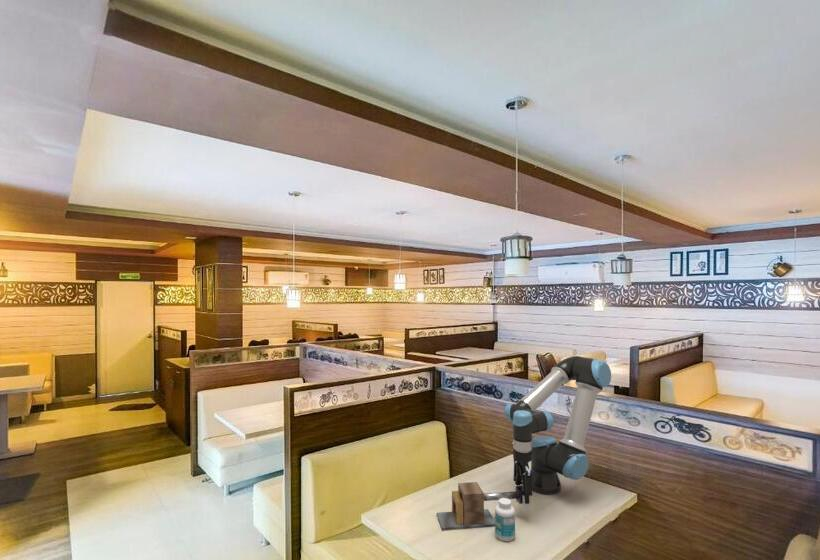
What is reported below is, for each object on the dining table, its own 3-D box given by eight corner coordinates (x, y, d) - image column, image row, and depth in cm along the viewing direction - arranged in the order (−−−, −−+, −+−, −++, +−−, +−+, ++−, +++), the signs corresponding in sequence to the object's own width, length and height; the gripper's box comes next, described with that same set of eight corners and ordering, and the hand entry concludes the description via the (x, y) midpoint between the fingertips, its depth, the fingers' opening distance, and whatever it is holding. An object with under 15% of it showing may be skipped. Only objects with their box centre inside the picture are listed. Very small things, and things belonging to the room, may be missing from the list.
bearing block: (488, 511, 176) (487, 480, 176) (496, 526, 165) (496, 493, 165) (436, 515, 173) (436, 483, 174) (442, 530, 162) (442, 496, 163)
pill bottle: (492, 531, 162) (492, 496, 162) (511, 530, 163) (511, 495, 163) (498, 543, 155) (498, 506, 155) (517, 542, 155) (517, 505, 155)
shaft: (524, 497, 175) (524, 485, 175) (529, 503, 171) (529, 490, 171) (471, 501, 172) (471, 489, 172) (474, 506, 168) (474, 494, 168)
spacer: (457, 512, 174) (457, 490, 174) (463, 524, 165) (463, 501, 165) (451, 513, 173) (451, 491, 173) (456, 525, 164) (456, 502, 164)
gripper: (505, 441, 182) (505, 494, 182) (523, 459, 163) (523, 519, 162) (521, 440, 183) (522, 493, 183) (541, 458, 164) (541, 518, 163)
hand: (522, 505), depth 172 cm, fingers open, 7 cm apart
